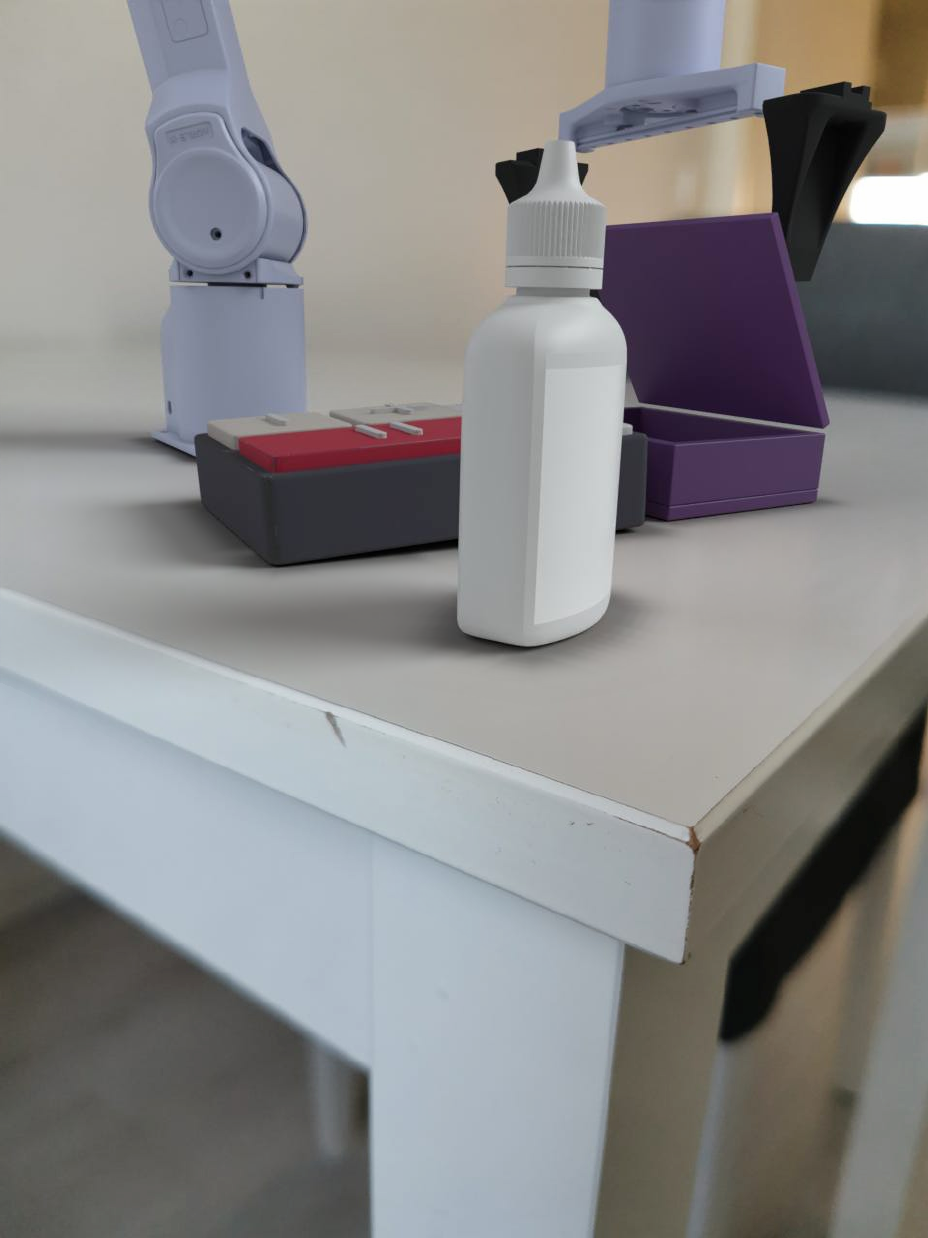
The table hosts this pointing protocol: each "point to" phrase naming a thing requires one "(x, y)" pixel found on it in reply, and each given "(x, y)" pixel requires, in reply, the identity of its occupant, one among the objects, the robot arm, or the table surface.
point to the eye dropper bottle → (542, 425)
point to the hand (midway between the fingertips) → (646, 284)
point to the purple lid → (713, 318)
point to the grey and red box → (355, 479)
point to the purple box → (723, 464)
